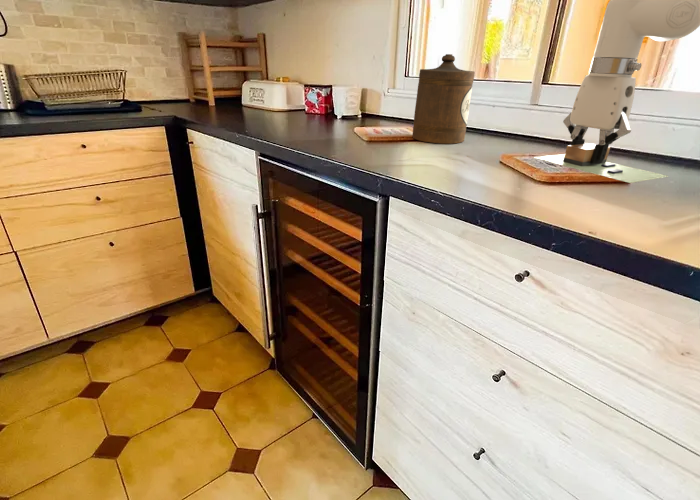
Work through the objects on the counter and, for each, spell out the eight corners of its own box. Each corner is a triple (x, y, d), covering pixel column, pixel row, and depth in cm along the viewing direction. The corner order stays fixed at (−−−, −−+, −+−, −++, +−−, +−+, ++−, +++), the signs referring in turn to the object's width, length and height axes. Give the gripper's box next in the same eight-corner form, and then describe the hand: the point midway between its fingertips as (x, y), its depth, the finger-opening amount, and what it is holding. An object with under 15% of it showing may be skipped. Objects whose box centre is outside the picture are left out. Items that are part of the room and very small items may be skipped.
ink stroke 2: (622, 172, 80) (623, 170, 79) (613, 173, 78) (613, 171, 78) (616, 171, 81) (617, 169, 80) (607, 172, 79) (607, 170, 79)
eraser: (605, 163, 87) (610, 147, 85) (581, 166, 83) (586, 149, 82) (586, 158, 90) (591, 143, 89) (562, 161, 87) (567, 145, 85)
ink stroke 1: (615, 166, 84) (615, 164, 84) (606, 167, 83) (606, 165, 83) (609, 164, 85) (610, 163, 85) (600, 166, 84) (601, 164, 84)
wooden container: (473, 144, 109) (487, 55, 100) (421, 144, 107) (431, 53, 97) (452, 134, 122) (463, 55, 113) (405, 134, 120) (413, 53, 110)
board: (667, 182, 78) (669, 176, 78) (627, 189, 73) (630, 182, 73) (569, 158, 96) (570, 153, 96) (531, 162, 91) (532, 157, 90)
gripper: (668, 70, 73) (634, 168, 81) (584, 67, 87) (562, 151, 95) (644, 70, 70) (611, 171, 78) (561, 66, 84) (540, 153, 92)
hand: (585, 159), depth 86 cm, fingers closed on eraser, 4 cm apart
